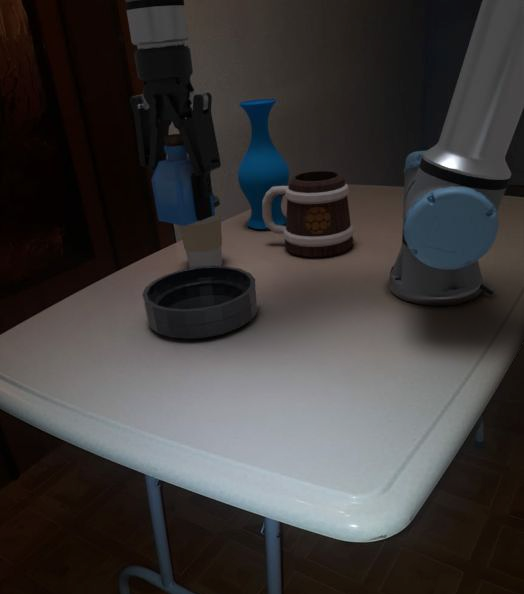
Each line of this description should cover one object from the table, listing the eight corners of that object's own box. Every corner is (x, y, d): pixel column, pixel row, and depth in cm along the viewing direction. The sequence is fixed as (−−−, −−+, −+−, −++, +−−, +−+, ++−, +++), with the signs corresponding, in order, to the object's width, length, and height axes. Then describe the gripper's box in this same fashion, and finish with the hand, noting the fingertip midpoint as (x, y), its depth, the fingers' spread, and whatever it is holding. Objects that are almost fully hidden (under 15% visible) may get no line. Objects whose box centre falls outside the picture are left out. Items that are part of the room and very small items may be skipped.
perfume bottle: (158, 220, 86) (144, 138, 80) (188, 210, 90) (177, 131, 84) (184, 226, 82) (171, 140, 76) (215, 215, 86) (204, 132, 80)
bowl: (279, 305, 96) (277, 275, 93) (209, 353, 83) (204, 320, 81) (199, 287, 106) (194, 260, 103) (126, 327, 93) (119, 297, 91)
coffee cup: (220, 273, 112) (211, 198, 104) (178, 273, 114) (165, 199, 106) (231, 257, 119) (223, 186, 112) (191, 257, 121) (181, 187, 114)
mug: (360, 236, 124) (360, 167, 116) (345, 261, 112) (344, 185, 104) (276, 233, 130) (271, 168, 123) (253, 256, 118) (246, 185, 111)
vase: (299, 218, 140) (293, 96, 126) (280, 233, 130) (271, 104, 117) (256, 216, 145) (245, 99, 131) (234, 231, 135) (220, 106, 121)
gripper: (236, 39, 72) (252, 215, 83) (131, 48, 82) (158, 203, 93) (197, 42, 66) (220, 230, 78) (91, 52, 77) (125, 216, 88)
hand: (186, 215), depth 86 cm, fingers closed on perfume bottle, 7 cm apart
